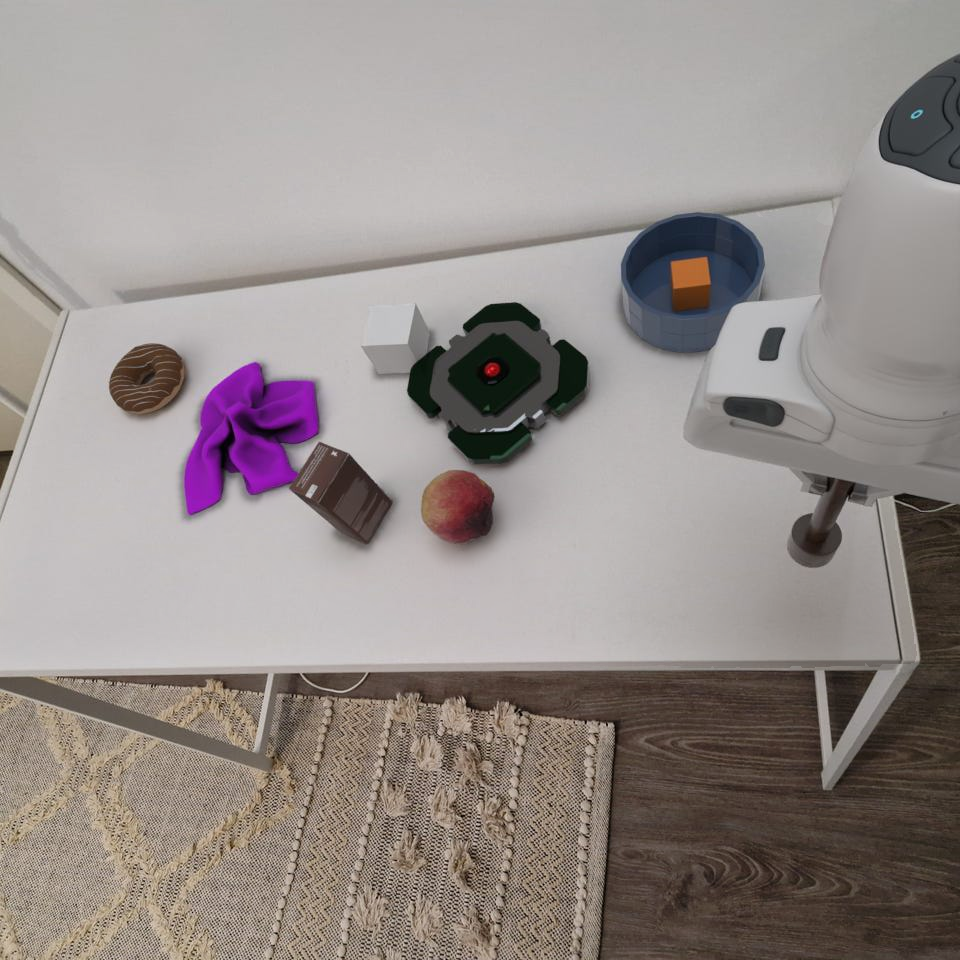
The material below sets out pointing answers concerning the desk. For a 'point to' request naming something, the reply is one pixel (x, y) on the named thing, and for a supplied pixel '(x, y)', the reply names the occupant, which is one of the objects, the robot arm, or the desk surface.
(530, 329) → the flat green button pad
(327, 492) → the box
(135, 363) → the donut
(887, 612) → the desk surface
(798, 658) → the desk surface
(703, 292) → the block
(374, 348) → the white cube
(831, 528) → the stirrer
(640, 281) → the bowl
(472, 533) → the fruit
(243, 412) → the cloth
